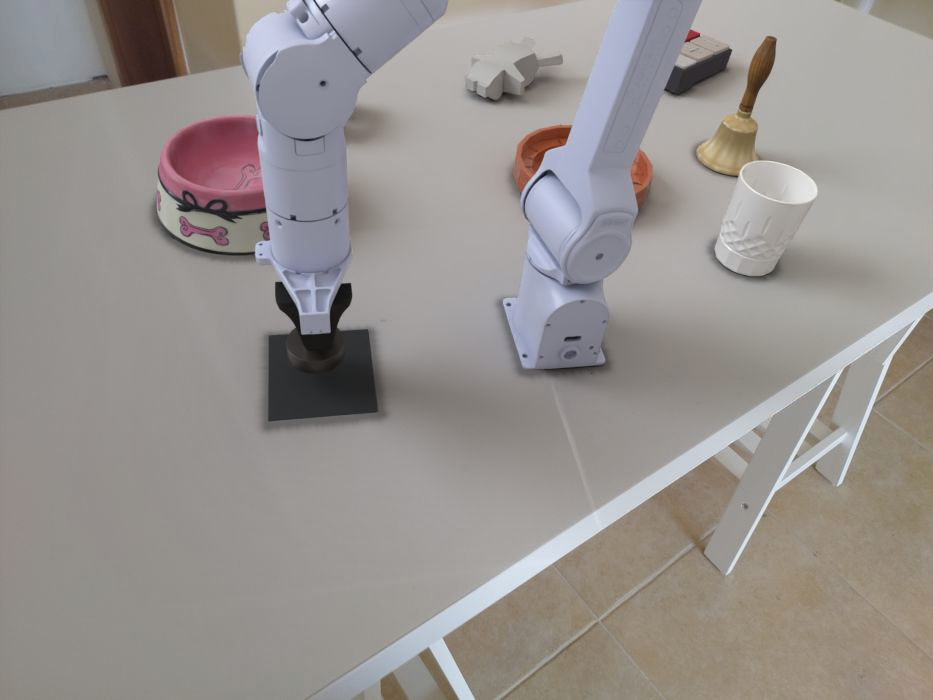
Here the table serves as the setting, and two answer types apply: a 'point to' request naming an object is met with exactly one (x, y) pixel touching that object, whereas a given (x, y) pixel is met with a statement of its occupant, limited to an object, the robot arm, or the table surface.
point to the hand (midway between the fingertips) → (317, 335)
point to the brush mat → (322, 382)
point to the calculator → (697, 61)
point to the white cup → (763, 216)
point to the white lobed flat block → (508, 68)
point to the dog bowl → (213, 186)
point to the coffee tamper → (315, 354)
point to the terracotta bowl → (557, 136)
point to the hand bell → (740, 121)
